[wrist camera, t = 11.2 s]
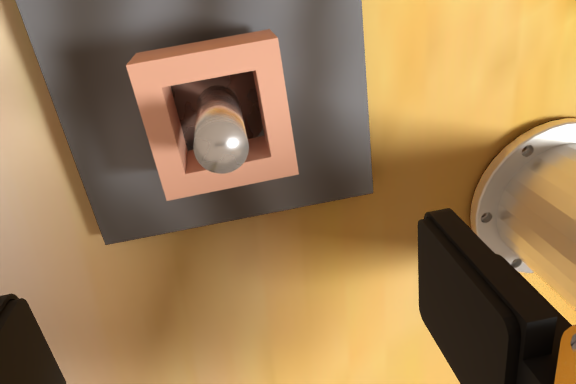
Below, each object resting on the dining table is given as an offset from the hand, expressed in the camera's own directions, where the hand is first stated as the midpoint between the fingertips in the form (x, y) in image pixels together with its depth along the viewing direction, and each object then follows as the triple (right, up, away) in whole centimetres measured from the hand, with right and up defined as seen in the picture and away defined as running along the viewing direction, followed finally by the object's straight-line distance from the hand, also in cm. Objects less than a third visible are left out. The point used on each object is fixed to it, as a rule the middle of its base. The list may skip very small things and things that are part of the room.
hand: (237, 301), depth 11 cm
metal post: (-3, +8, +16) cm, 19 cm away
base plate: (-3, +9, +18) cm, 20 cm away
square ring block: (-3, +7, +16) cm, 18 cm away
